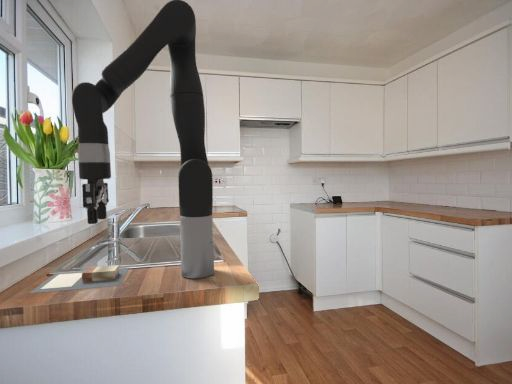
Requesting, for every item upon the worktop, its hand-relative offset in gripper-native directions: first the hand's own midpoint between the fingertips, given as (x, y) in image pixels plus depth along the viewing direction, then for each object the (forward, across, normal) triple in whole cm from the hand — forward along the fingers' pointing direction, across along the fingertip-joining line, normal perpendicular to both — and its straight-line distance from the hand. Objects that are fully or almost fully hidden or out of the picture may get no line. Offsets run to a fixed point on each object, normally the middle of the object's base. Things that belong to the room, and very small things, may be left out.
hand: (97, 221), depth 80 cm
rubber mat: (+16, 0, +4) cm, 17 cm away
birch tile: (+16, 0, 0) cm, 16 cm away
